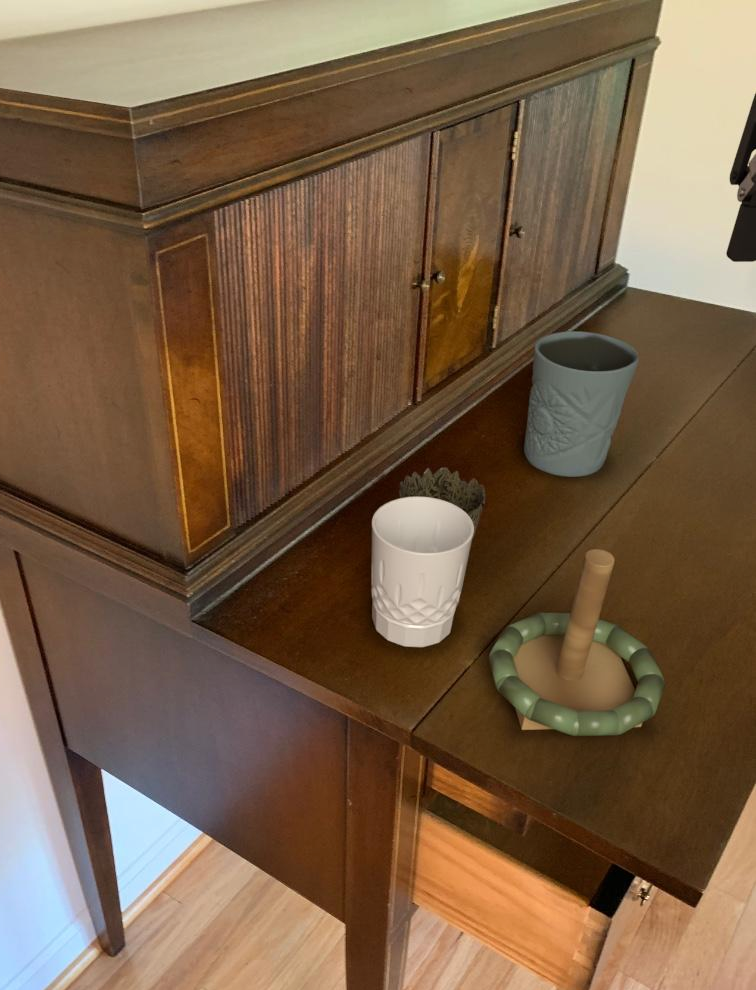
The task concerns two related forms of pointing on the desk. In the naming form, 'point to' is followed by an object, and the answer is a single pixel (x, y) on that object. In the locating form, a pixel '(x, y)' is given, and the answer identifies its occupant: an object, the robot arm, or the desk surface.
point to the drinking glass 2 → (576, 400)
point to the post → (577, 653)
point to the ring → (565, 717)
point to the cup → (447, 491)
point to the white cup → (418, 568)
